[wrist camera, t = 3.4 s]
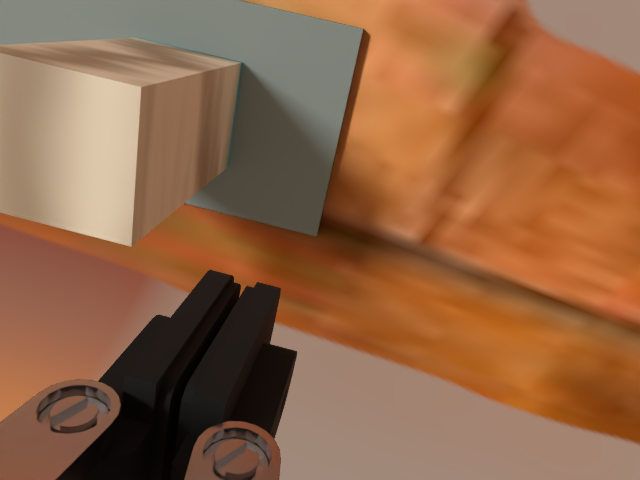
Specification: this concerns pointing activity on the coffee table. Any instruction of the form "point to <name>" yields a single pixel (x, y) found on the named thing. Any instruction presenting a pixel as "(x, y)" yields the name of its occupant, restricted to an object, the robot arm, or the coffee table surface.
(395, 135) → the coffee table surface
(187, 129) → the maple block
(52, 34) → the rubber mat
